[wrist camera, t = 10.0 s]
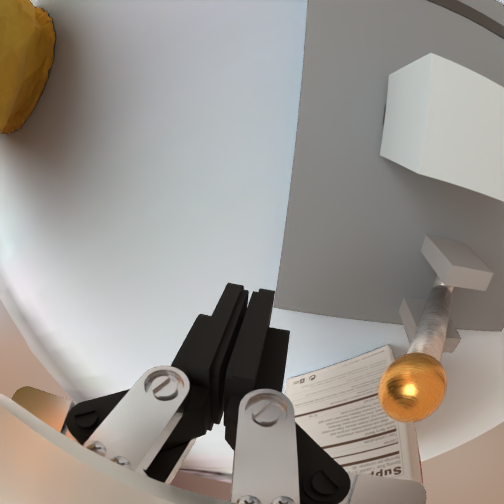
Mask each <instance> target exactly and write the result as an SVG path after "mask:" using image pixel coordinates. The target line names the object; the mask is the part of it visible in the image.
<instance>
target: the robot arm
mask: <svg viewBox="0 0 504 504" xmlns="http://www.w3.org/2000/svg"><path fill="white" fill-rule="evenodd" d="M248 294H249V291H248V290H244V286H243V285H237V284H232V283H228V284H227V285H226V288H225V290H224V292H223V294H222V296H221V298H220V300H219V302H218V304H217V306H216V308H215V310H214V312H213V314H212V316H208V315H203V314H200V315H198V317H197V318H196V320H195V322H194V324H193V326H192V328H191V329H190V331H189V333H188V335H187V337H186V339H185V340H184V342H183V344H182V346H181V348H180V350H179V351H178V353H177V355H176V357H175V359H174V361H173V363H172V364H171V366H157V367H154V368H151V369H149V370H147V371H146V372H145V373H144V374H143V375H142V376H141V377H140V378H139V380H138V381H137V382H136V383H135V384H134V385H133V387H132V388H131V389H128V390H125V391H121V392H118V393H114V394H111V395H107V396H103V397H100V398H96V399H92V400H88V401H84V402H81V403H78V404H76V403H74V402H73V400H71V399H67V398H63V397H60V396H57V395H54V394H51V393H47V392H45V391H41V390H39V389H35V388H33V387H28V386H26V387H22V388H20V389H18V390H17V391H16V392H15V394H14V395H13V397H12V399H9V398H8V397H6V396H4V395H2V394H0V504H425V503H426V491H425V489H424V487H423V486H422V485H421V484H420V483H419V482H416V481H413V480H404V479H396V478H389V477H382V476H376V475H371V474H365V473H360V472H359V473H358V474H353V473H349V472H346V471H345V469H344V468H343V467H342V466H341V465H339V464H338V463H337V462H336V461H335V460H334V459H333V458H332V457H331V456H330V455H329V454H328V453H327V452H326V451H325V450H323V449H322V448H321V447H320V446H319V445H318V444H317V443H316V442H315V441H314V440H313V439H312V438H311V437H310V436H309V435H308V434H307V433H306V432H305V431H304V430H303V429H302V428H301V427H300V426H299V425H298V424H297V423H296V422H295V412H294V407H293V404H292V402H291V401H290V399H289V398H288V397H287V396H285V395H284V394H283V393H282V387H283V380H284V373H285V366H286V358H287V351H288V343H289V335H290V331H288V330H282V329H276V328H270V327H269V325H270V319H271V313H272V307H273V301H274V294H275V291H272V290H266V289H259V292H254V291H253V293H252V296H251V299H250V302H249V305H248V308H247V304H248ZM223 412H224V426H226V427H225V440H226V441H227V442H228V444H229V445H230V446H231V448H232V449H233V450H234V460H233V472H232V484H231V496H230V497H231V498H230V501H226V500H221V499H217V498H213V497H209V496H204V495H201V494H197V493H194V492H190V491H187V490H184V489H180V488H177V487H174V486H171V485H169V484H170V483H171V481H172V479H173V478H174V476H175V475H176V473H177V471H178V470H179V468H180V466H181V465H182V463H183V462H184V460H185V458H186V457H187V455H188V453H189V452H190V450H191V448H192V446H193V445H194V443H195V441H196V438H197V437H200V436H202V435H205V434H206V431H207V430H210V431H211V430H212V427H213V424H214V423H215V424H220V421H221V418H222V415H223Z"/></svg>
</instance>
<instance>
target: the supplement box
mask: <svg viewBox="0 0 504 504" xmlns="http://www.w3.org/2000/svg"><path fill="white" fill-rule="evenodd" d="M394 360H395V357H394V355H393V352H392V350H391V347H390V346H389V345H386V346H383V347H381V348H378V349H376V350H373V351H371V352H368V353H365V354H363V355H360V356H358V357H355V358H352V359H349V360H346V361H343V362H340V363H337V364H335V365H332V366H329V367H326V368H323V369H320V370H316V371H313V372H310V373H307V374H304V375H300V376H297V377H293V378H290V379H287V384H286V391H285V396H287V397H288V398H289V399H290V401H291V402H292V404H293V407H294V412H295V422H296V423H297V424H298V425H299V426H300V427H301V428H302V429H303V430H304V431H305V432H306V433H307V434H308V435H309V436H310V437H311V438H312V439H313V440H314V441H315V442H316V443H317V444H318V445H319V446H320V447H321V448H322V449H323V450H325V451H326V452H327V453H328V454H329V455H330V456H331V457H332V458H333V459H334V460H335V461H336V462H337V463H338V464H339V465H341V466H342V467H343V468H344V469H345V471H346V472H349V473H353V474H358V473H359V472H360V473H365V474H371V475H376V476H382V477H389V478H396V479H404V480H413V481H416V482H419V483H420V484H421V485H422V486H423V478H422V469H421V461H420V455H419V448H418V442H417V436H416V430H415V425H414V422H413V423H403V422H398V421H396V420H394V419H392V418H390V417H389V416H388V415H387V414H386V413H385V412H384V411H383V409H382V408H381V405H380V403H379V399H378V386H379V382H380V379H381V377H382V374H383V373H384V371H385V370H386V368H387V367H388V366H389V365H390V364H391V363H392V362H393V361H394Z"/></svg>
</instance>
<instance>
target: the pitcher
mask: <svg viewBox="0 0 504 504" xmlns="http://www.w3.org/2000/svg"><path fill="white" fill-rule="evenodd" d="M43 10H44V9H41V8H40V7H37V8H36V7H34V6H33V5H32V3H31V2H30V0H0V133H4V134H8V133H9V132H10V133H11V132H12V131H13V130H14V131H15V130H16V129H17V131H18V129H21V125H22V124H24V123H25V121H26V119H27V118H28V117H29V116H30V114H31V113H32V110H33V109H34V106H36V103H37V101H38V100H39V97H40V96H41V93H42V91H43V89H44V85H45V83H46V82H47V79H48V70H49V69H50V68H51V67H52V64H53V50H54V44H55V40H56V37H55V34H56V33H55V31H53V29H54V27H53V23H52V22H51V21H52V20H53V19H52V18H51V17H49V16H48V11H45V12H44V11H43Z"/></svg>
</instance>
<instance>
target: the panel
mask: <svg viewBox="0 0 504 504" xmlns="http://www.w3.org/2000/svg"><path fill="white" fill-rule="evenodd" d="M429 53H433V54H435V55H438V56H440V57H443V58H445V59H448V60H450V61H452V62H455V63H457V64H459V65H461V66H464V67H466V68H468V69H470V70H472V71H474V72H476V73H478V74H480V75H482V76H484V77H486V78H487V79H489V80H491V81H493V82H495V83H497V84H498V85H500V86H502V87H503V88H504V5H502V4H501V3H499V2H498V1H496V0H308V4H307V20H306V34H305V47H304V60H303V71H302V82H301V93H300V104H299V114H298V123H297V133H296V142H295V151H294V160H293V168H292V177H291V185H290V193H289V201H288V209H287V217H286V224H285V232H284V239H283V246H282V253H281V260H280V267H279V274H278V281H277V288H276V294H275V301H274V307H273V308H279V309H285V310H292V311H298V312H305V313H312V314H319V315H326V316H333V317H340V318H348V319H356V320H364V321H373V322H382V323H391V324H401V325H404V327H405V330H406V333H407V336H408V339H409V342H410V345H411V342H412V339H413V337H414V334H415V332H416V329H417V326H418V323H419V321H420V318H421V315H422V312H423V309H424V305H425V303H426V300H427V296H428V293H429V291H430V290H431V288H432V286H433V284H434V281H435V279H436V276H437V275H438V276H439V278H440V279H441V281H442V282H443V284H444V285H448V286H454V289H453V291H452V293H451V294H452V301H451V308H450V314H449V320H448V326H447V331H446V336H445V341H444V346H443V351H442V352H453V351H454V350H455V348H456V346H457V345H458V343H459V341H460V340H461V338H460V336H459V334H458V332H457V330H456V329H462V330H481V331H502V329H503V328H504V202H503V201H501V200H498V199H495V198H493V197H490V196H487V195H485V194H482V193H479V192H476V191H473V190H470V189H467V188H464V187H461V186H458V185H455V184H452V183H449V182H445V181H442V180H439V179H435V178H432V177H428V176H425V175H421V174H418V173H416V172H414V171H412V170H410V169H408V168H406V167H404V166H402V165H400V164H398V163H396V162H393V161H391V160H389V159H387V158H385V157H383V156H380V150H381V143H382V136H383V129H384V121H385V112H386V103H387V92H388V80H389V75H390V74H392V73H394V72H395V71H397V70H399V69H401V68H403V67H405V66H406V65H408V64H410V63H412V62H414V61H416V60H418V59H420V58H422V57H423V56H425V55H427V54H429Z"/></svg>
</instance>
